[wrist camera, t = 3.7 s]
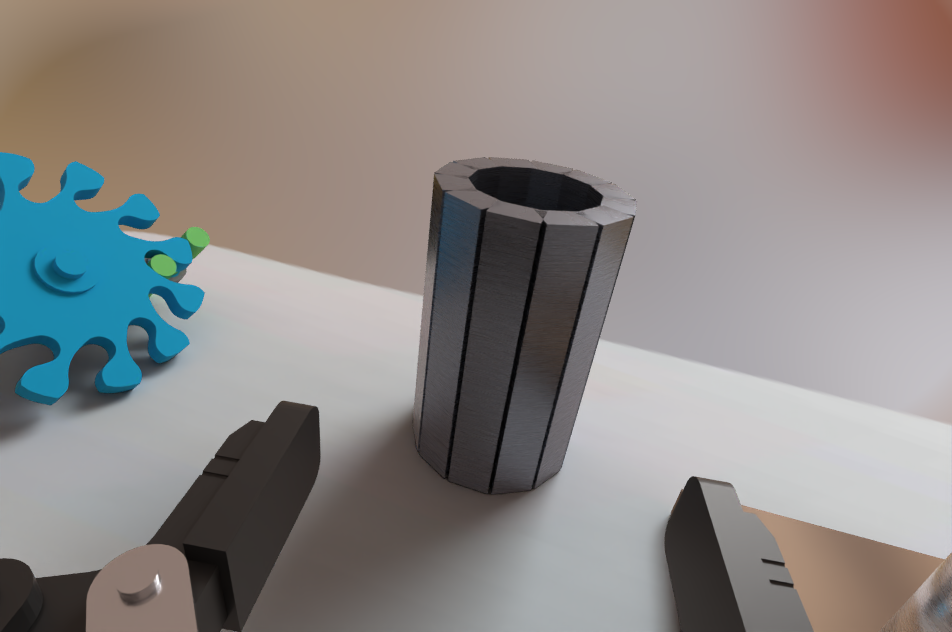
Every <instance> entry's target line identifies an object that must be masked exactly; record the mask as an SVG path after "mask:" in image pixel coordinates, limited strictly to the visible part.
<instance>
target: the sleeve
mask: <svg viewBox="0 0 952 632" xmlns="http://www.w3.org/2000/svg"><path fill="white" fill-rule="evenodd" d="M635 200H636V199H635V198H633V197H632V196H631V195H629V194H628V193H626V192H625V191H624V190H622V189H621V188H620V187H618V186H617V185H616V184H612V182H609V181H606V180H604V179H601V178H598V177H595V176H593V175H590V174H587V173H585V172H582V171H579V170H574V171H573V169H572V168H567V167H562V166H557V165H552V164H548V163H542V162H538V161H532V162H530V161H529V160H523V159H522V160H521V159H508V158H493V157H489V159H487V158H485V157H483V158H475V159H467V160H458V161H453V162H449V163H448V164H447V165H445V166H444V167H442V168H440V169H439V170H438V171H436V172H435V174H434V182H433V194H432V205H431V218H430V229H429V240H428V251H427V263H426V275H425V286H424V297H423V309H422V321H421V332H420V344H419V355H418V367H417V378H416V390H415V402H414V413H413V430H414V435H415V441H416V446H417V451H420V452H419V455H420V456H421V457H422V458H423V459H424V460H425V461H427V462H428V463H429V464H430V465H431V466H432V467H433V468H434V469H435V470H436V471H437V472H438V473H439V474H440V475H441V476H442V477H443V478H444V479H445V478H446V477H448V476H449V478H448V481H450V482H453V483H456V484H459V485H462V486H465V487H468V488H471V489H474V490H477V491H480V492H483V493H486V494H487V493H488V490H489V487H490V491H491V494H500V493H510V492H519V491H529V490H531V487H533V488H534V489H535V488H536V487H538V486H539V485H541V484H542V483H543V482H545V481H546V480H547V479H549V478H550V477H552V476H553V475H554V474H556V473H557V472H558V471H560V468H562V464H563V461H564V457H565V454H566V451H567V447H568V444H569V440H570V437H571V434H572V430H573V427H574V423H575V420H576V416H577V413H578V410H579V406H580V403H581V399H582V396H583V392H584V389H585V386H586V382H587V379H588V375H589V372H590V368H591V365H592V362H593V358H594V355H595V351H596V348H597V345H598V341H599V338H600V334H601V331H602V327H603V324H604V321H605V317H606V314H607V310H608V307H609V303H610V300H611V296H612V293H613V290H614V286H615V283H616V279H617V276H618V273H619V269H620V266H621V262H622V259H623V256H624V252H625V249H626V245H627V242H628V238H629V235H630V232H631V228H632V224H633V221H634V218H635V213H636V205H637V201H635Z"/></svg>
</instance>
